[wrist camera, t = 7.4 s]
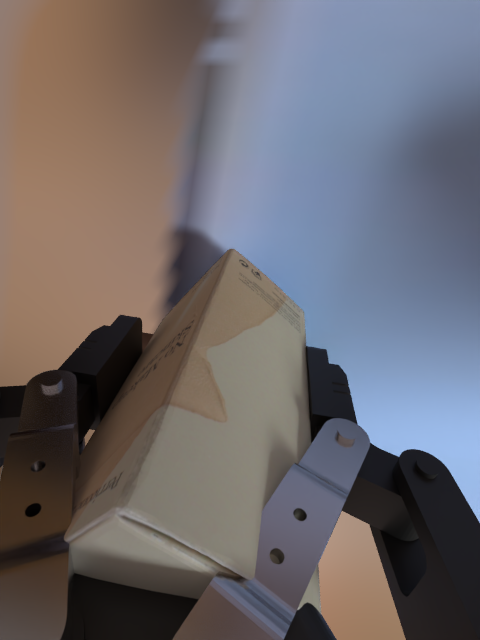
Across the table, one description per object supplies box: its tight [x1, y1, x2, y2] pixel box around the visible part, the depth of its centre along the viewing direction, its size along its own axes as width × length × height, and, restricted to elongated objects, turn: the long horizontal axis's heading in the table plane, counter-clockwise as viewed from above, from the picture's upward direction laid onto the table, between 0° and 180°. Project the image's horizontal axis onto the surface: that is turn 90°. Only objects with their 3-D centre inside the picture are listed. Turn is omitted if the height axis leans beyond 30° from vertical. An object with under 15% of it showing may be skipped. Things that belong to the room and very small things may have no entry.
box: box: [64, 249, 321, 614], centre depth 11 cm, size 5×4×11 cm
